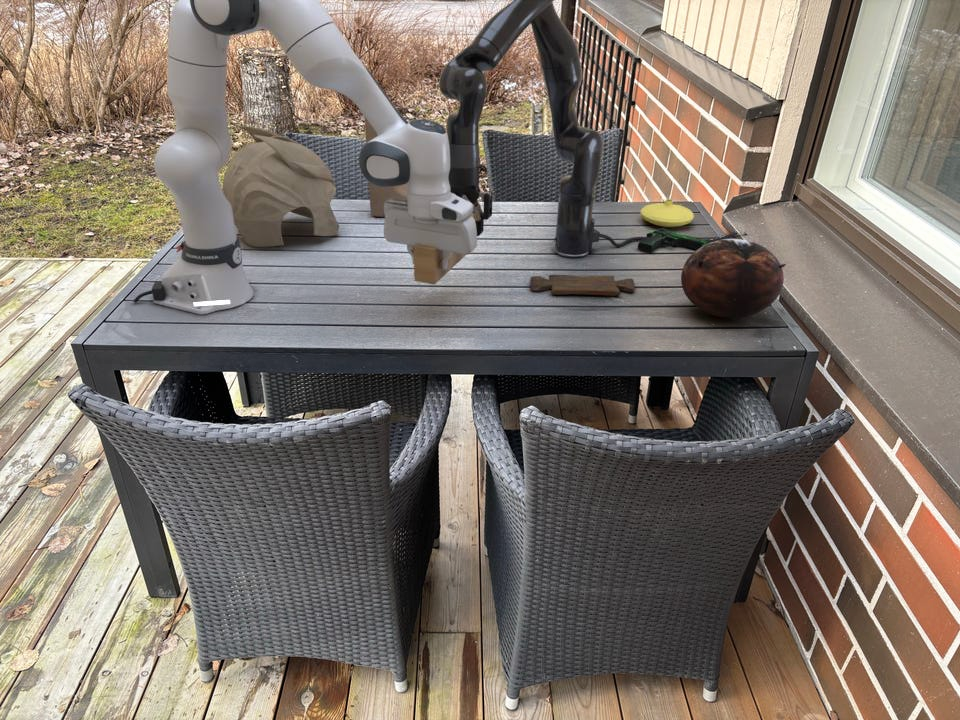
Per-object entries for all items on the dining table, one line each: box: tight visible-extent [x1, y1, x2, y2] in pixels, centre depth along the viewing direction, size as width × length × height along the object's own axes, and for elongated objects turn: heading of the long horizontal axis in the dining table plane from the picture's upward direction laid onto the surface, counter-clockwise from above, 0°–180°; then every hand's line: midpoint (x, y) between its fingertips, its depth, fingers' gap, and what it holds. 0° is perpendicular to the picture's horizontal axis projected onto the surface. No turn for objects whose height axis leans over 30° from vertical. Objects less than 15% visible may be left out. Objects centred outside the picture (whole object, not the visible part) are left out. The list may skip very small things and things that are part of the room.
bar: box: [413, 213, 476, 285], centre depth 159 cm, size 24×5×8 cm, turn 159°
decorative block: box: [363, 116, 407, 218], centre depth 212 cm, size 8×15×30 cm, turn 82°
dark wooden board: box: [529, 274, 635, 297], centre depth 175 cm, size 26×2×10 cm
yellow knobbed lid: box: [640, 198, 695, 228], centre depth 215 cm, size 16×16×7 cm
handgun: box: [637, 227, 709, 254], centre depth 199 cm, size 16×3×15 cm
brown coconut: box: [680, 238, 787, 319], centre depth 162 cm, size 22×18×20 cm
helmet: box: [222, 125, 340, 248], centre depth 196 cm, size 27×30×30 cm
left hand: (430, 266), depth 153 cm, fingers closed on bar, 5 cm apart
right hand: (462, 232), depth 166 cm, fingers open, 7 cm apart
